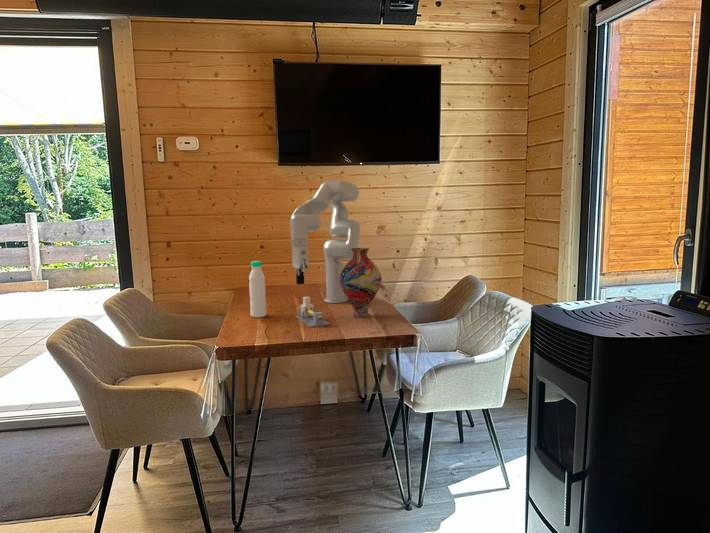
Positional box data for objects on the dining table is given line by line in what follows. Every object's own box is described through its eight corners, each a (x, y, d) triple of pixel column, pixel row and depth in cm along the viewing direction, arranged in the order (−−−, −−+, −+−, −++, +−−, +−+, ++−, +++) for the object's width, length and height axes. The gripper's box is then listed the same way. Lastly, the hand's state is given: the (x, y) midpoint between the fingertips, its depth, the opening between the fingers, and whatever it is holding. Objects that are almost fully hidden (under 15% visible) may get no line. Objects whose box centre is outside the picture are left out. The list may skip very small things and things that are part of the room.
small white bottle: (300, 315, 213) (300, 297, 212) (310, 313, 214) (310, 296, 213) (303, 316, 209) (303, 298, 208) (313, 315, 211) (313, 297, 210)
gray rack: (295, 317, 214) (295, 305, 213) (312, 315, 217) (312, 304, 216) (311, 327, 196) (310, 314, 195) (329, 325, 199) (329, 312, 199)
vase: (344, 321, 204) (342, 251, 200) (336, 312, 223) (335, 247, 219) (387, 318, 208) (386, 249, 204) (376, 309, 226) (375, 246, 222)
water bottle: (269, 315, 219) (267, 260, 216) (259, 318, 213) (256, 262, 210) (257, 313, 223) (255, 260, 219) (247, 316, 217) (244, 261, 213)
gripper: (313, 243, 209) (314, 285, 211) (302, 242, 222) (302, 281, 224) (296, 244, 206) (297, 286, 207) (286, 242, 219) (287, 282, 221)
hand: (300, 283), depth 216 cm, fingers closed
